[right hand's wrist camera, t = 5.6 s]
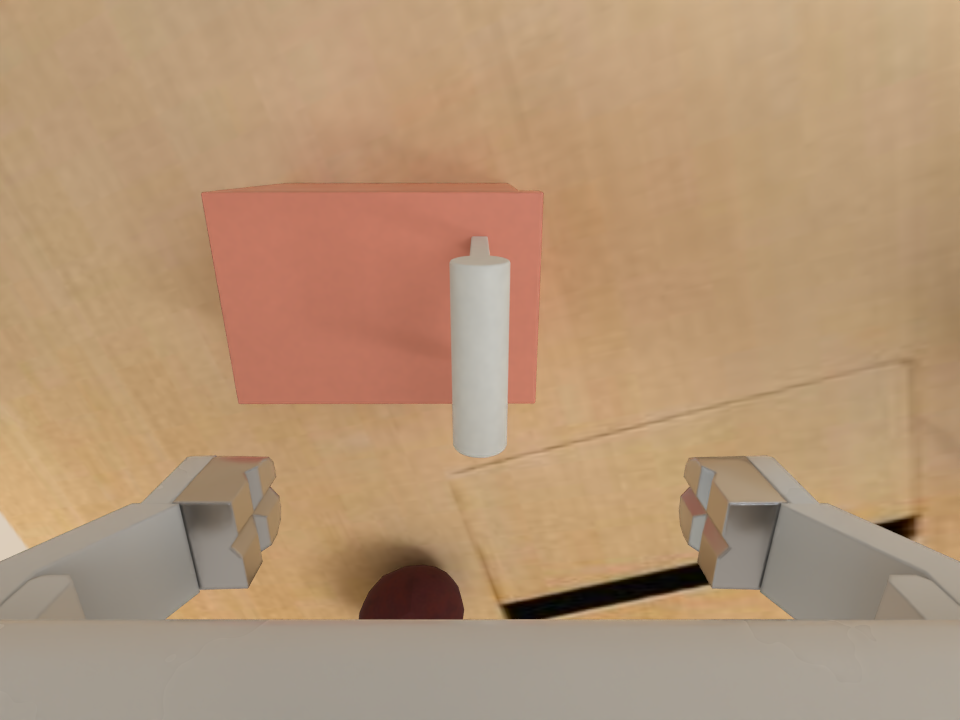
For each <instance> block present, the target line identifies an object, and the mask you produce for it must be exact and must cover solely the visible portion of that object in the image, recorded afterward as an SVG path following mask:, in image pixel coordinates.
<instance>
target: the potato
mask: <svg viewBox="0 0 960 720" xmlns="http://www.w3.org/2000/svg"><path fill="white" fill-rule="evenodd" d="M463 614H464V607H463V603H462V599H461V595H460V591H459V588H458V586H457V584H456V583H455V581H454V580H453V579H452V578H451V577H450V576H449V575H448V574H447V573H446V572H445V571H442V570H440V569H438V568H436V567H432V566H426V565H416V566H405V567H403V568H401V569H398V570H396V571H394V572H391V573H389V574H386V575H384V576H383V577H382V578H381V579H380V580H379V581H378V582H377V583H376V584H375V585H374V587H373V588H372V589H371V590H370V592H369V593H368V595H367V597H366V599H365V601H364V603H363V606H362V608H361V611H360V613H359V620H463Z"/></svg>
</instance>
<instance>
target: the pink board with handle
mask: <svg viewBox="0 0 960 720" xmlns="http://www.w3.org/2000/svg"><path fill="white" fill-rule="evenodd" d="M543 195H544V194H543V192H541V191H210V192H202V193H201V196H202V201H203V207H204V212H205V218H206V224H207V229H208V235H209V241H210V246H211V252H212V257H213V263H214V269H215V274H216V280H217V285H218V291H219V297H220V302H221V308H222V313H223V319H224V325H225V330H226V336H227V341H228V347H229V353H230V358H231V364H232V369H233V375H234V381H235V386H236V392H237V397H238V403H239V404H452V410H453V445H454V447H455V449H456V450H457V451H458V452H459V453H461V454H463V455H466V456H469V457H475V458H485V457H491V456H494V455H497V454H499V453H501V452H502V451H503V450H504V449H505V447H506V445H507V409H508V403H535V395H536V370H537V345H538V320H539V295H540V270H541V245H542V220H543Z"/></svg>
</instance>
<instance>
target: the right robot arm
mask: <svg viewBox="0 0 960 720" xmlns="http://www.w3.org/2000/svg"><path fill="white" fill-rule="evenodd" d="M275 478H276V473H275V468H274V463H273V461H272V460H271V459H270V458H269V457H249V456H191V457H187V458H186V459H185V460H184V461H183V462H182V463H181V464H180V465H179V466H178V467H177V468H176V469H175V470H174V471H173V472H172V473H171V474H170V475H169V476H168V477H167V478H166V479H165V480H164V481H163V482H162V483H161V484H160V485H159V486H158V487H157V488H156V489H155V490H154V491H153V492H152V493H151V494H150V495H149V496H148V497H147V498H146V499H145V500H144V501H143V502H142V503H132V504H130V505H127V506H125V507H123V508H121V509H118V510H116V511H114V512H112V513H109V514H107V515H105V516H102V517H100V518H98V519H96V520H93V521H91V522H89V523H87V524H84V525H82V526H80V527H77V528H75V529H73V530H71V531H68V532H66V533H64V534H62V535H59V536H57V537H55V538H52V539H50V540H48V541H46V542H43V543H41V544H39V545H36V546H34V547H32V548H30V549H27V550H25V551H23V552H21V553H18V554H16V555H14V556H12V557H9V558H7V559H5V560H2V561H0V720H960V561H957V560H955V559H953V558H950V557H948V556H946V555H944V554H941V553H939V552H937V551H935V550H932V549H930V548H928V547H926V546H923V545H921V544H919V543H916V542H914V541H912V540H910V539H907V538H905V537H903V536H901V535H898V534H896V533H894V532H891V531H889V530H887V529H885V528H882V527H880V526H878V525H876V524H873V523H871V522H869V521H867V520H864V519H862V518H860V517H857V516H855V515H853V514H851V513H848V512H846V511H844V510H842V509H839V508H837V507H835V506H832V505H830V504H828V503H818V502H817V501H816V500H815V499H814V498H813V497H812V496H811V495H810V494H809V493H808V492H807V491H806V490H805V489H804V488H803V487H802V486H801V485H800V484H799V483H798V482H797V481H796V480H795V479H794V478H793V477H792V476H791V475H790V474H789V473H788V472H787V471H786V470H785V469H784V468H783V467H782V466H781V465H780V464H779V463H778V462H777V461H776V460H775V459H774V458H773V457H770V456H767V455H762V456H731V457H694V458H689V459H688V462H687V464H686V467H685V473H684V478H685V479H686V481H687V482H688V484H689V486H690V487H689V488H688V489H687V490H686V491H685V492H684V493H683V494H682V495H681V498H680V506H679V518H680V526H681V529H682V533H683V536H684V538H685V540H686V541H687V543H688V545H689V546H691V547H692V548H694V549H695V550H697V551H698V552H699V555H698V561H697V562H698V564H699V565H700V567H701V569H702V571H703V573H704V574H705V576H706V578H707V580H708V582H709V583H710V585H711V587H712V588H717V589H754V590H760V592H761V593H762V594H763V595H765V596H766V597H767V598H769V599H770V600H771V601H772V602H774V603H775V604H776V605H778V606H779V607H780V608H781V609H783V610H784V611H785V612H786V613H788V614H789V615H790V616H792V617H793V618H794V619H623V620H341V619H166V618H167V617H169V616H170V615H171V614H172V613H174V612H175V611H176V610H178V609H179V608H180V607H181V606H183V605H184V604H185V603H187V602H188V601H189V600H190V599H192V598H193V597H194V596H195V595H197V594H198V593H199V592H200V590H206V589H241V588H248V587H249V585H250V584H251V582H252V580H253V578H254V576H255V575H256V573H257V571H258V569H259V567H260V565H261V564H262V562H263V561H262V555H261V552H262V551H263V550H265V549H266V548H268V547H269V546H271V545H272V543H273V541H274V539H275V538H276V536H277V533H278V529H279V525H280V520H281V504H280V498H279V495H278V494H277V493H276V492H275V491H274V490H273V489H272V488H271V487H270V486H271V484H272V482H273V481H274V479H275Z"/></svg>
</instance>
